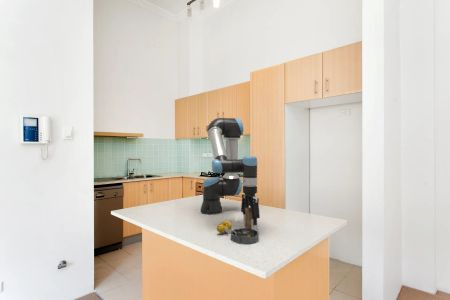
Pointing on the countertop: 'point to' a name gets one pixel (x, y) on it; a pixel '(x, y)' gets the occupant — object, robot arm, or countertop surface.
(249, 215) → the wooden beam block
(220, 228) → the pressure relief valve
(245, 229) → the tin
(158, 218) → the countertop surface
